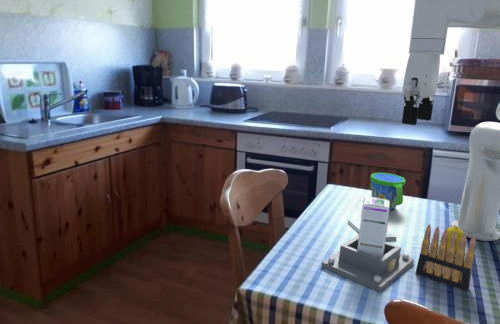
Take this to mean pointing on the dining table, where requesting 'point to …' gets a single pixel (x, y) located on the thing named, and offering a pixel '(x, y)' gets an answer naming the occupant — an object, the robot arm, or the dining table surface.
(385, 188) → the snack cup
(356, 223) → the hard drive
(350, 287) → the dining table surface
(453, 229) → the lemon
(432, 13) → the robot arm
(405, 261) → the frame
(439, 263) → the ammunition clip
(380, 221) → the syrup box
